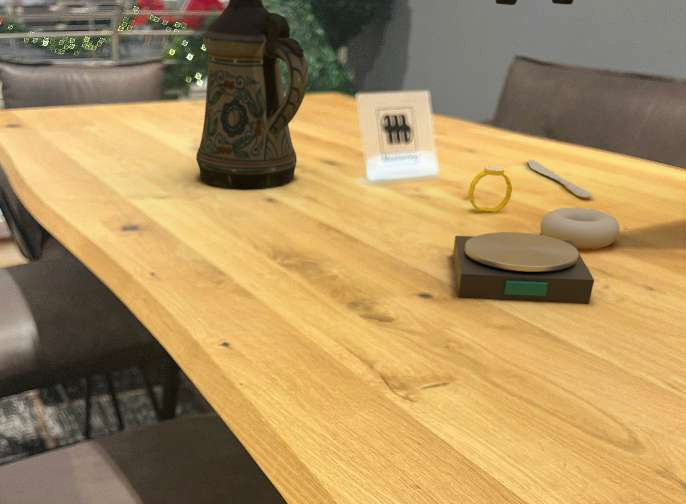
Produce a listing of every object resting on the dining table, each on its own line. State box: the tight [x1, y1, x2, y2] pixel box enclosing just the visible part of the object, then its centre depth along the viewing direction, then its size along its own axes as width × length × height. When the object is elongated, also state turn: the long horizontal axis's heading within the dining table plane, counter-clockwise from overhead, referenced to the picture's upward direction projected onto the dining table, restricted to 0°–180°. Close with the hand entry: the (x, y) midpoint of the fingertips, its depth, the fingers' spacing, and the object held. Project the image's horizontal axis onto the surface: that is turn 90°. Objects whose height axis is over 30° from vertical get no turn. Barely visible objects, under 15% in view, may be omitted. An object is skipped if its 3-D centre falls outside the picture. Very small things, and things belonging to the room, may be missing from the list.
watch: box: [467, 165, 513, 213], centre depth 110 cm, size 6×3×6 cm, turn 94°
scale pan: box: [465, 231, 580, 272], centre depth 87 cm, size 13×13×1 cm
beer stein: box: [195, 0, 309, 190], centre depth 120 cm, size 16×19×25 cm
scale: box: [452, 235, 595, 304], centre depth 87 cm, size 14×14×3 cm
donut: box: [539, 207, 621, 250], centre depth 100 cm, size 10×4×10 cm
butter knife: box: [527, 159, 593, 199], centre depth 129 cm, size 1×27×3 cm
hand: (534, 4), depth 97 cm, fingers open, 9 cm apart
